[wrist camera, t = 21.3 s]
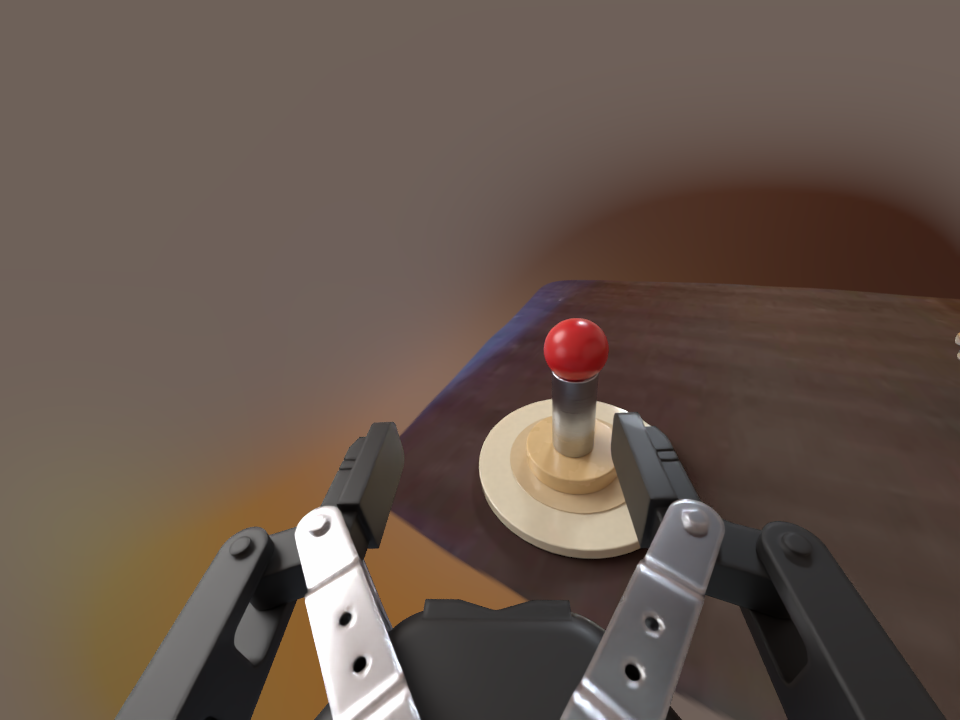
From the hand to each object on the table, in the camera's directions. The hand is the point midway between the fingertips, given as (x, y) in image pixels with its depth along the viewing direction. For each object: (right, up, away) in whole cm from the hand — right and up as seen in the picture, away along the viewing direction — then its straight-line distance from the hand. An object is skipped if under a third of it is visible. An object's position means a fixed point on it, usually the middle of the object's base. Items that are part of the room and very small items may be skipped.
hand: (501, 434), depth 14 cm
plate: (+5, -4, +10) cm, 12 cm away
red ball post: (+5, -3, +9) cm, 11 cm away
